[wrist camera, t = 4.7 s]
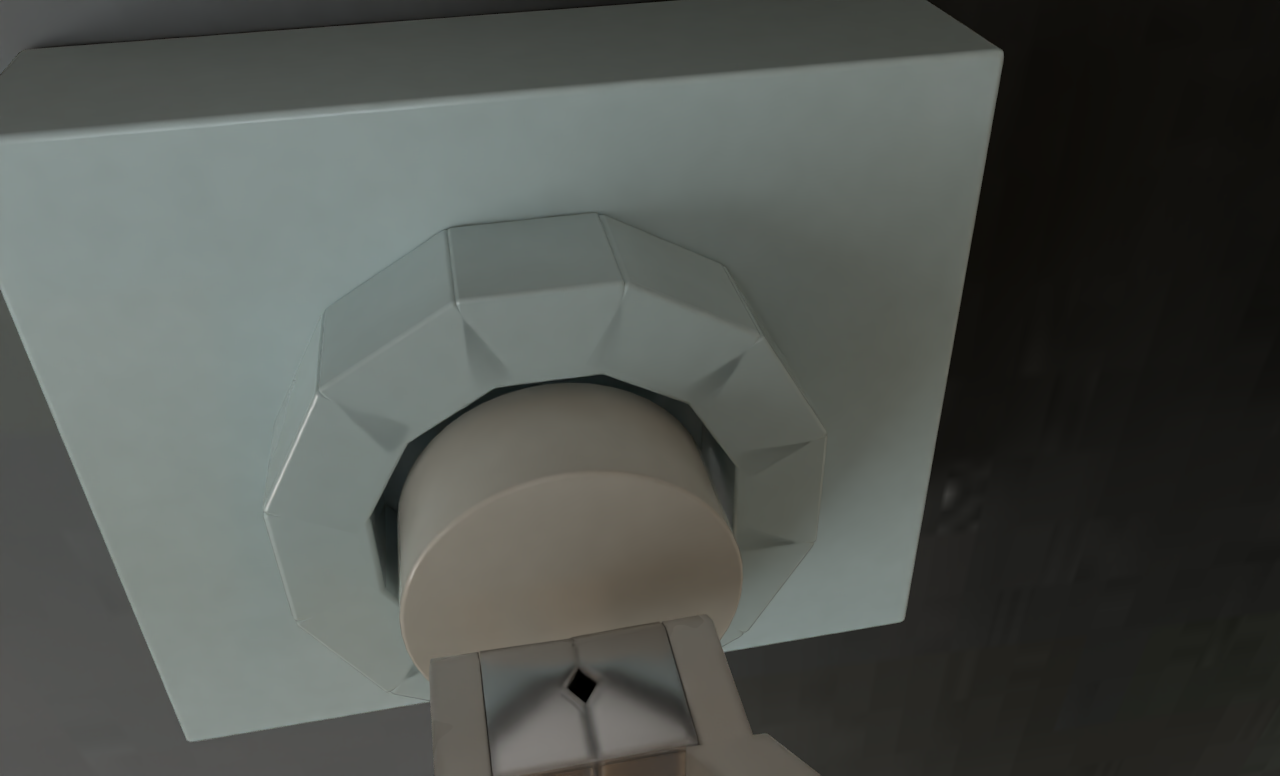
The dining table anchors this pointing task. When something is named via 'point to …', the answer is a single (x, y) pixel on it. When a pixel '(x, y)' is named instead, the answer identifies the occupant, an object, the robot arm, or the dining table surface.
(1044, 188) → the dining table surface
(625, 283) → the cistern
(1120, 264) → the dining table surface
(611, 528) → the flush button
